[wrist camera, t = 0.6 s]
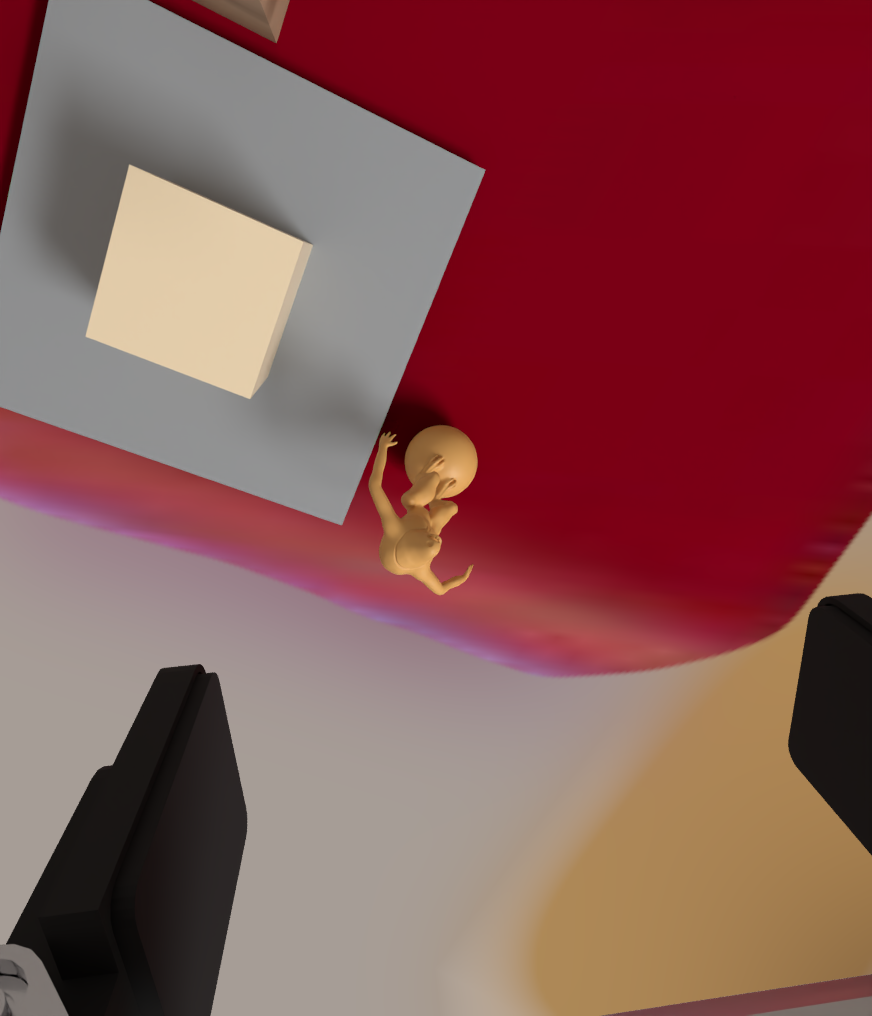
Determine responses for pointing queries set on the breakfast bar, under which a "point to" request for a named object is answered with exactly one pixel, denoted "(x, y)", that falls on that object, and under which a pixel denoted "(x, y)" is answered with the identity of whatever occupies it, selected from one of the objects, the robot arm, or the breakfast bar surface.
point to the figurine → (423, 501)
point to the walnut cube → (252, 14)
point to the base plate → (255, 169)
